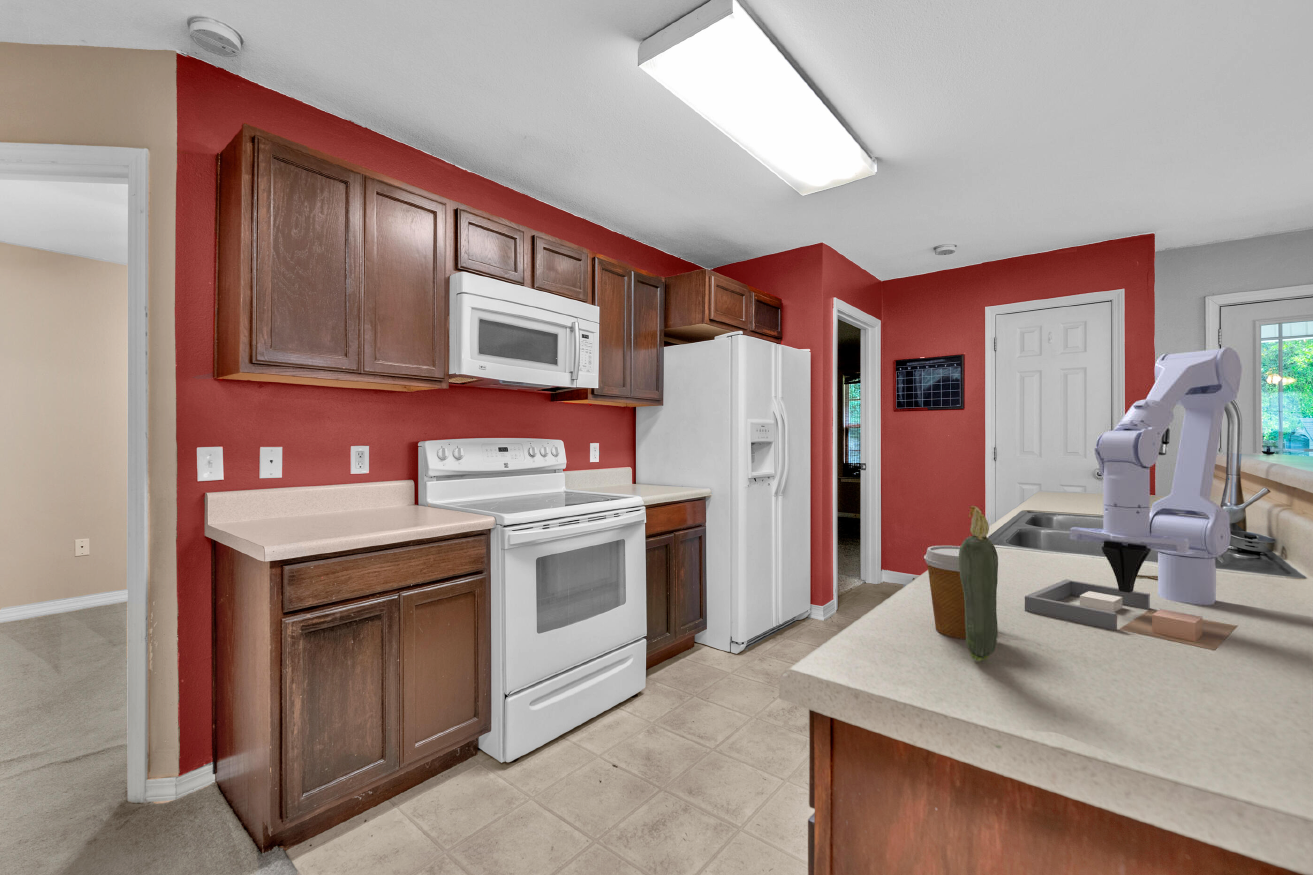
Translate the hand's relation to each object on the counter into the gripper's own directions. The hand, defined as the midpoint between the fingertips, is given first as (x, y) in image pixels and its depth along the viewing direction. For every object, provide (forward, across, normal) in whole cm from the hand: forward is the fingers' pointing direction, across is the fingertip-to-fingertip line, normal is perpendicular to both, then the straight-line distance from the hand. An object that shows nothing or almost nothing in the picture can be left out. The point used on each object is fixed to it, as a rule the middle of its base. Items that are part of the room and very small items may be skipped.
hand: (1126, 590), depth 91 cm
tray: (+4, -4, -4) cm, 7 cm away
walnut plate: (+4, +7, -4) cm, 9 cm away
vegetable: (+4, -6, -38) cm, 38 cm away
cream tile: (+4, -3, 0) cm, 5 cm away
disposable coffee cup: (+4, -13, -28) cm, 31 cm away
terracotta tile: (+3, +8, -7) cm, 11 cm away
